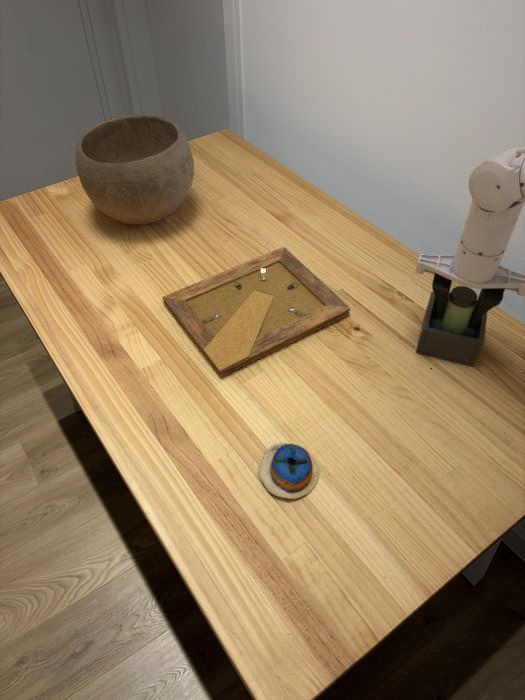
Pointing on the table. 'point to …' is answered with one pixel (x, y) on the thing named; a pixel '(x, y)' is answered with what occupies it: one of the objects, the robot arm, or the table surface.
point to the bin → (450, 338)
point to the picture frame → (254, 309)
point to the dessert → (288, 471)
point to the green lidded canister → (458, 309)
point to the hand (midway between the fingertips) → (455, 317)
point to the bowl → (135, 167)
